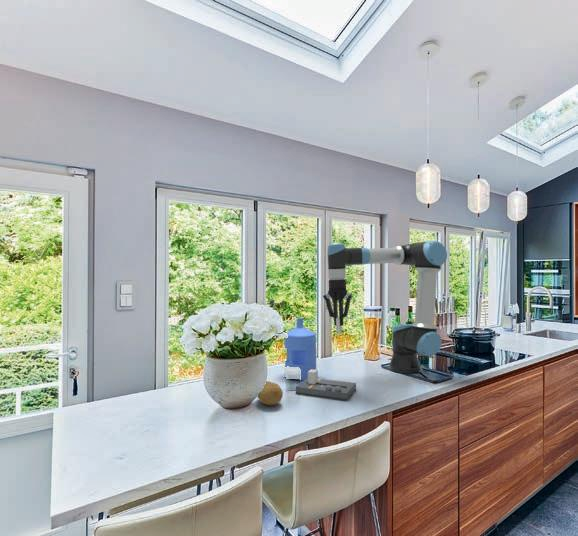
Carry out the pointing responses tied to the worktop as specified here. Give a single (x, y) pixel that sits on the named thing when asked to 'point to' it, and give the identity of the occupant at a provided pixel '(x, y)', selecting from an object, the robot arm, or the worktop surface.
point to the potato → (270, 393)
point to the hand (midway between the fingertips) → (339, 333)
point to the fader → (312, 376)
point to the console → (327, 389)
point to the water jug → (301, 349)
